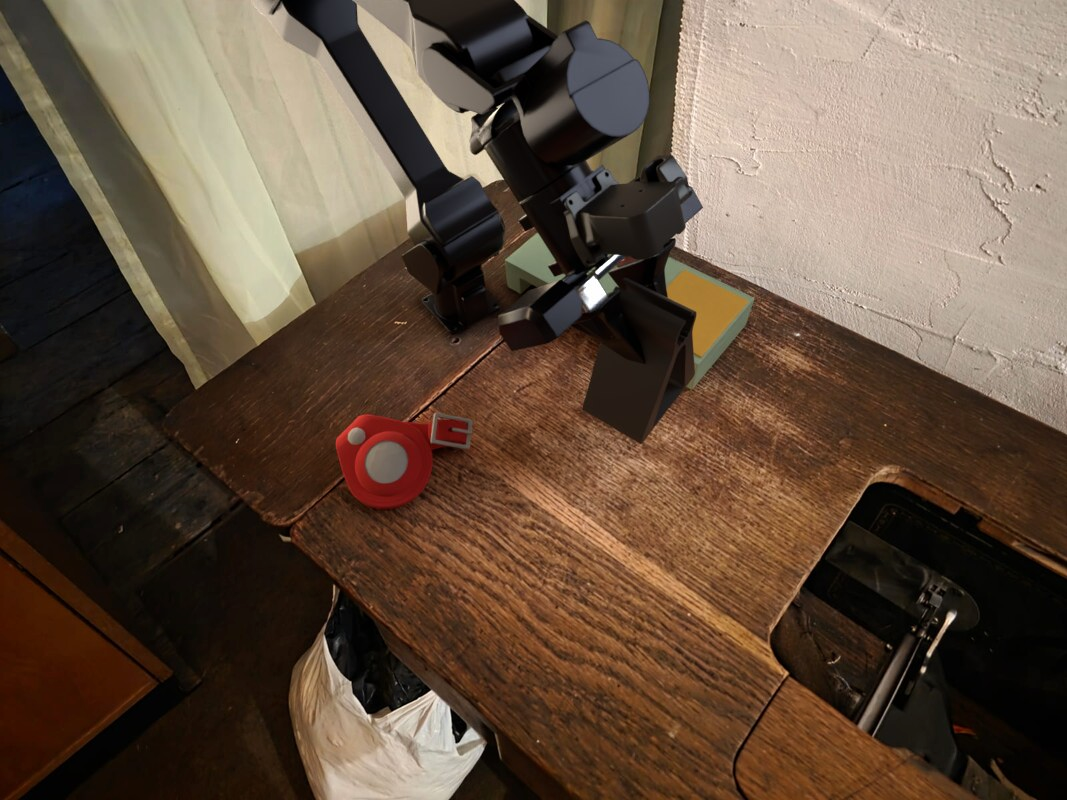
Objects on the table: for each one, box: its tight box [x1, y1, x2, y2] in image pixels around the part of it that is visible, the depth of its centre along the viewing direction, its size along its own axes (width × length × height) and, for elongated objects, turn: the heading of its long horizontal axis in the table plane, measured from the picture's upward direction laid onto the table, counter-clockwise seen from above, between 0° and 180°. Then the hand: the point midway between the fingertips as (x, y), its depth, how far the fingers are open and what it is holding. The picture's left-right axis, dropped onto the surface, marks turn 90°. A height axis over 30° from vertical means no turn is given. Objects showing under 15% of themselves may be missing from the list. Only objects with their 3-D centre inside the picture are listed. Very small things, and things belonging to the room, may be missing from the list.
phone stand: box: [581, 278, 696, 445], centre depth 54 cm, size 9×6×12 cm, turn 142°
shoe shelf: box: [504, 232, 755, 391], centre depth 72 cm, size 24×11×4 cm, turn 51°
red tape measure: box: [335, 412, 474, 510], centre depth 62 cm, size 12×4×10 cm
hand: (657, 353), depth 53 cm, fingers closed on phone stand, 3 cm apart
